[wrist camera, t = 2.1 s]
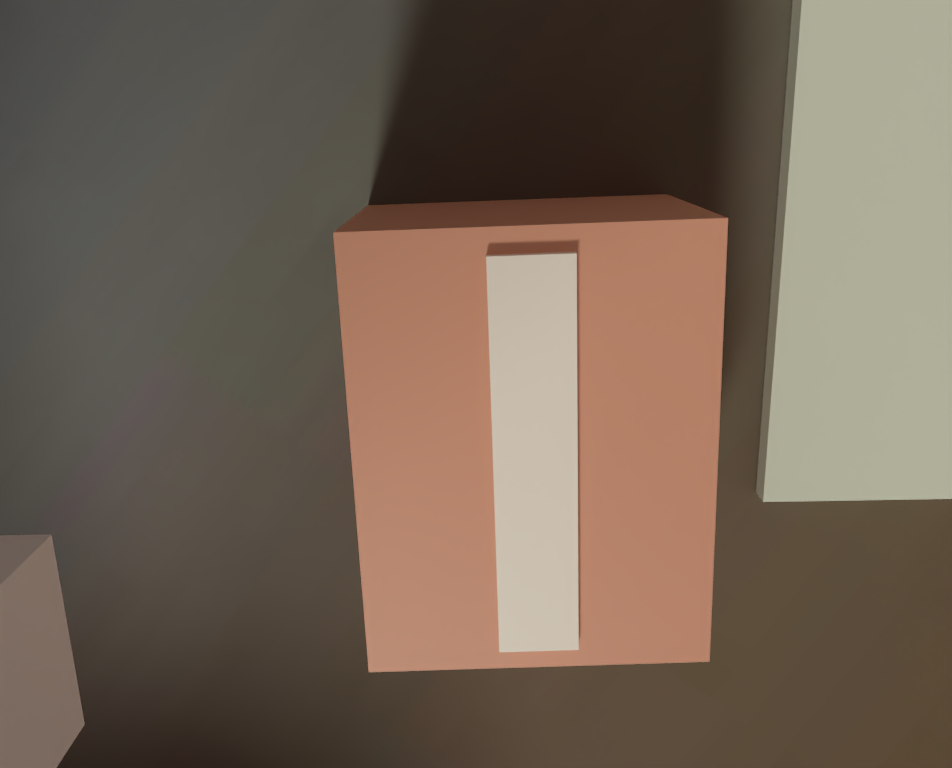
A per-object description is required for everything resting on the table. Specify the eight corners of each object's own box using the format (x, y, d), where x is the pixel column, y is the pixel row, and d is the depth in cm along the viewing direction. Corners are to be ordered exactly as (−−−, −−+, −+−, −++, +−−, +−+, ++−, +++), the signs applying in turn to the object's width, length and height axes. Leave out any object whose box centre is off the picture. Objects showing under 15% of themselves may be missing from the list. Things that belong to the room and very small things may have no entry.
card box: (657, 540, 24) (712, 667, 18) (392, 549, 24) (367, 677, 18) (665, 193, 21) (731, 219, 16) (369, 204, 21) (331, 233, 16)
